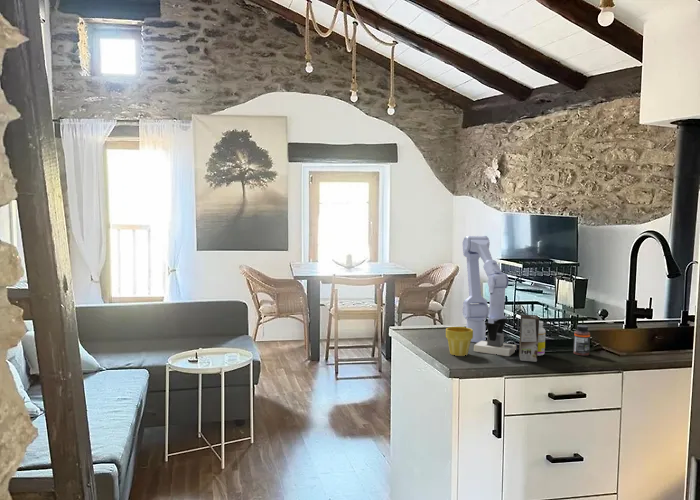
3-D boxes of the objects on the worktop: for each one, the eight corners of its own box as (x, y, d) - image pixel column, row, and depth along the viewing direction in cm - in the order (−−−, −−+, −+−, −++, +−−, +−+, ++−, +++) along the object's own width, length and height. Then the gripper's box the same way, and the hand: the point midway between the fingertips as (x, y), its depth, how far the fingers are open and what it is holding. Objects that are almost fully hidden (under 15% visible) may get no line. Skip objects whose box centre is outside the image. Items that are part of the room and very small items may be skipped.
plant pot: (442, 351, 260) (443, 326, 259) (467, 351, 261) (468, 326, 260) (448, 357, 250) (449, 331, 249) (475, 357, 251) (476, 332, 250)
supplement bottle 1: (524, 352, 262) (525, 319, 261) (541, 352, 262) (542, 319, 261) (530, 356, 255) (531, 323, 254) (547, 356, 256) (548, 323, 255)
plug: (490, 348, 265) (491, 331, 264) (503, 349, 262) (503, 333, 262) (486, 350, 261) (487, 333, 261) (499, 352, 259) (500, 335, 258)
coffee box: (537, 362, 246) (539, 319, 245) (519, 360, 248) (521, 318, 246) (535, 356, 255) (537, 314, 254) (518, 355, 257) (520, 313, 255)
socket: (481, 346, 270) (481, 338, 269) (515, 351, 263) (516, 343, 263) (473, 351, 261) (473, 343, 261) (508, 356, 254) (509, 348, 254)
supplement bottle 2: (577, 351, 265) (579, 323, 264) (592, 354, 260) (593, 326, 259) (570, 354, 260) (571, 325, 260) (584, 356, 256) (586, 327, 255)
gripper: (501, 308, 252) (500, 343, 253) (512, 303, 265) (510, 336, 266) (483, 306, 255) (482, 341, 257) (494, 301, 268) (493, 334, 269)
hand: (495, 338), depth 261 cm, fingers open, 7 cm apart
